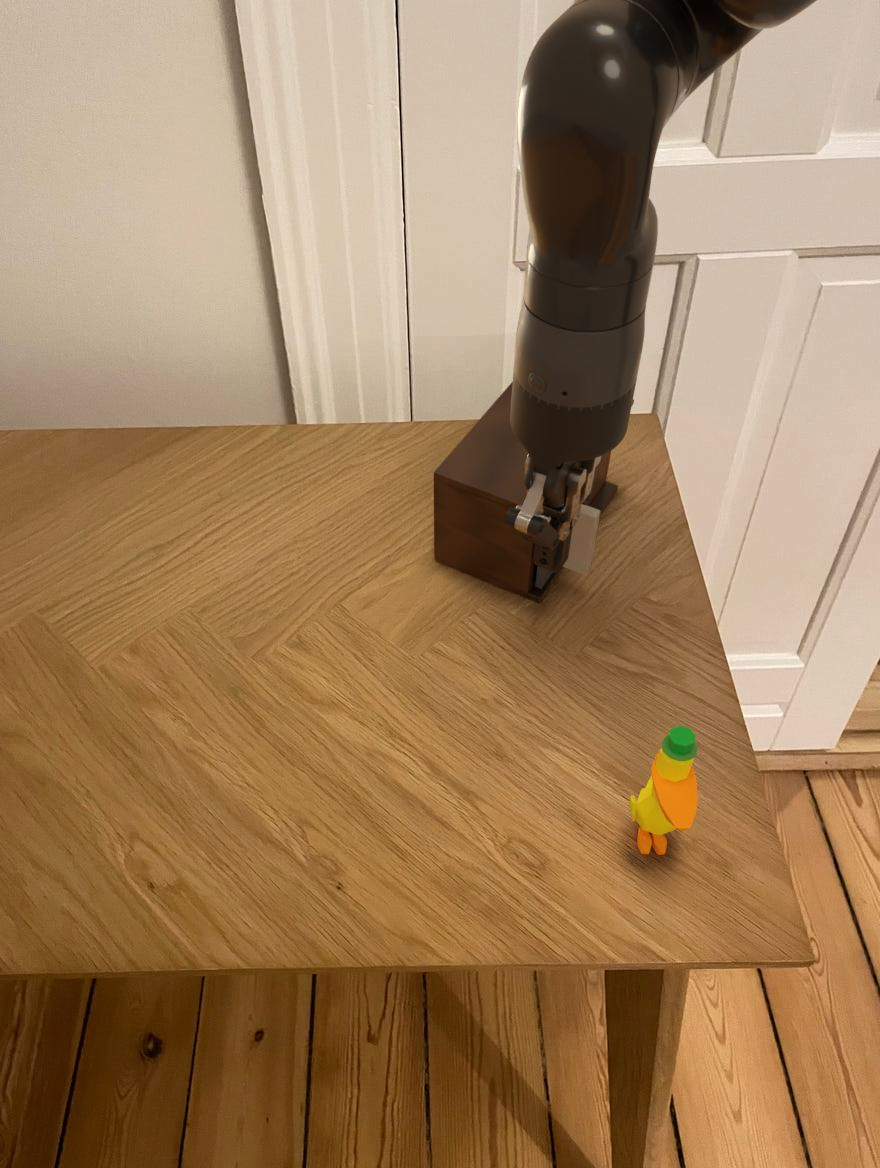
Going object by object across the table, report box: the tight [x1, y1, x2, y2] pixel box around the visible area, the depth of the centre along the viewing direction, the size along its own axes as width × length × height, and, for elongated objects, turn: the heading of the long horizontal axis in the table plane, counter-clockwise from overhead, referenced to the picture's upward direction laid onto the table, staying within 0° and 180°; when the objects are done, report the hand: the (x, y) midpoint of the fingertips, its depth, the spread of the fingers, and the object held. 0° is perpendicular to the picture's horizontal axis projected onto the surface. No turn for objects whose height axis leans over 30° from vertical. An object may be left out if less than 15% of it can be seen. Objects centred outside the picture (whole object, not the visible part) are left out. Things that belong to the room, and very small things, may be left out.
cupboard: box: [433, 381, 635, 604], centre depth 83 cm, size 10×16×10 cm, turn 149°
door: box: [535, 504, 601, 589], centre depth 79 cm, size 4×8×8 cm, turn 149°
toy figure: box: [628, 725, 699, 856], centre depth 62 cm, size 7×4×12 cm, turn 179°
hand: (550, 562), depth 73 cm, fingers closed
